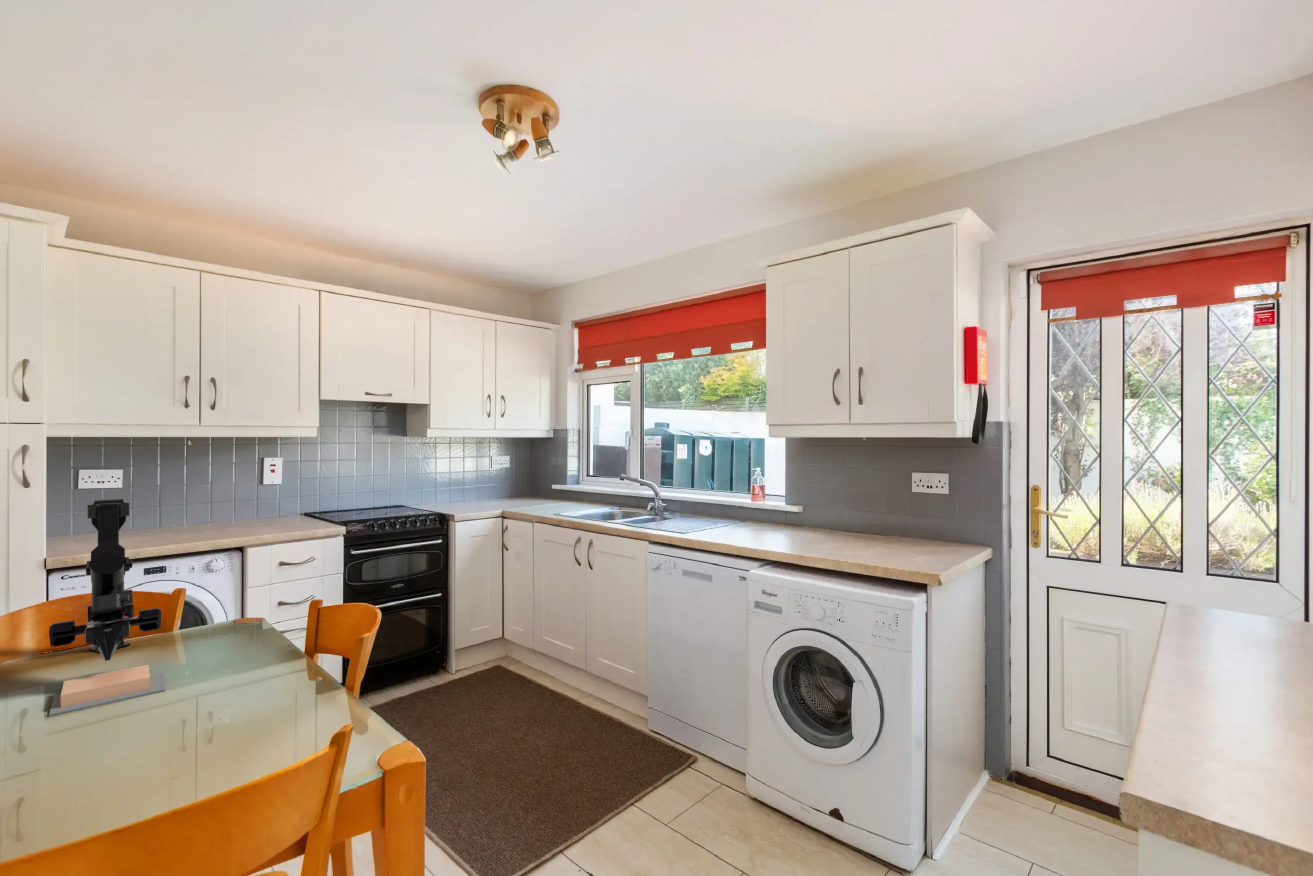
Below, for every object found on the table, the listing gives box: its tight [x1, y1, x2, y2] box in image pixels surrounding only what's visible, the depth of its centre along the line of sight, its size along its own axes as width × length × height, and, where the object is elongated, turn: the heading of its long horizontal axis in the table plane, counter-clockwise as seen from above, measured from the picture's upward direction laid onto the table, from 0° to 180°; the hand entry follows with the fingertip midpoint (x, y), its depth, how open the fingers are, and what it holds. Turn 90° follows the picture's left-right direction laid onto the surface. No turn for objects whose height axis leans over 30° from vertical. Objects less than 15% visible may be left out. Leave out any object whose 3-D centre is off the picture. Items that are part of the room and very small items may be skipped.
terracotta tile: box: [60, 664, 151, 708], centre depth 132 cm, size 2×14×10 cm
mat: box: [48, 673, 166, 717], centre depth 131 cm, size 12×18×1 cm, turn 132°
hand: (107, 659), depth 133 cm, fingers closed
